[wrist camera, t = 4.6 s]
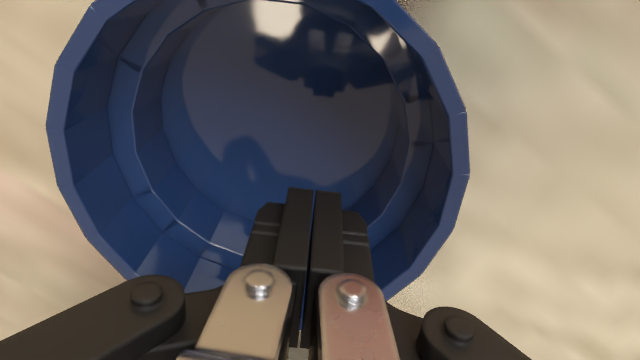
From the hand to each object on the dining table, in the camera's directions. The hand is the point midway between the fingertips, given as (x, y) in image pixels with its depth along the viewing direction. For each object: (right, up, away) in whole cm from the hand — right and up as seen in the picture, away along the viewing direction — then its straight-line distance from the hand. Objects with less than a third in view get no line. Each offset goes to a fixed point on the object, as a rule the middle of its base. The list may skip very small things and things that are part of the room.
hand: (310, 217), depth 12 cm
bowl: (-2, +4, +8) cm, 9 cm away
